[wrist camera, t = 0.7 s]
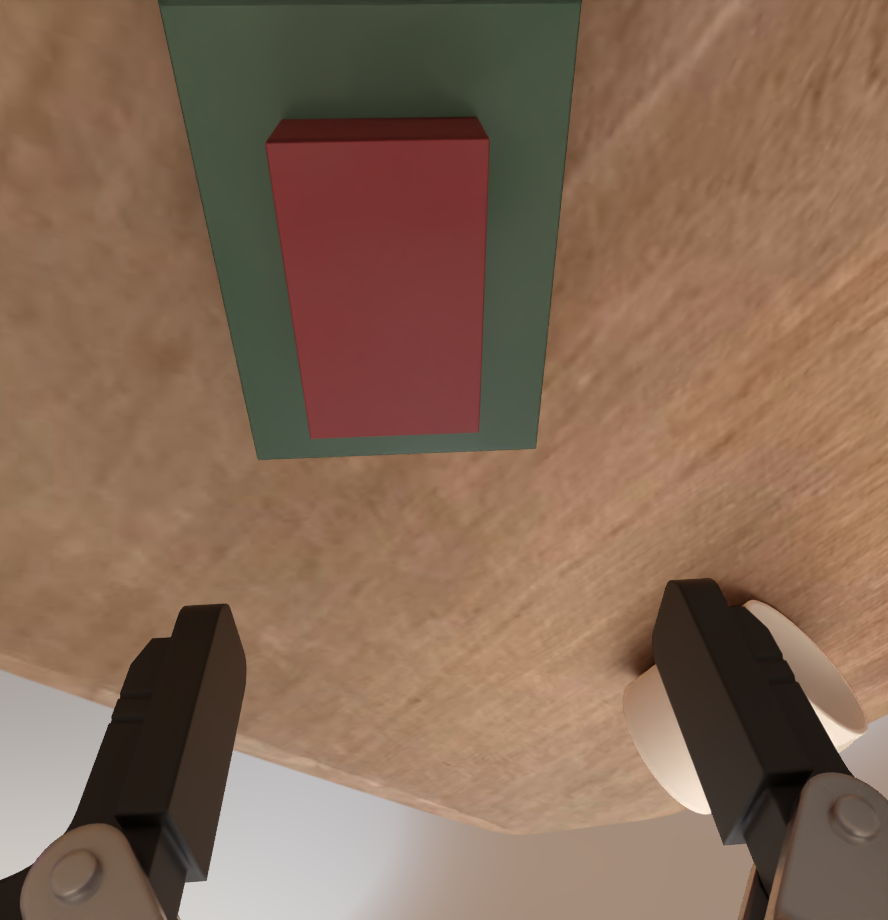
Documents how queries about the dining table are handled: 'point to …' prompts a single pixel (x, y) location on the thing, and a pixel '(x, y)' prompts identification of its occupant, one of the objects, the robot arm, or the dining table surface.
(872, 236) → the dining table surface
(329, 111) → the big book
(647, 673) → the mug
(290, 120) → the pocket book
